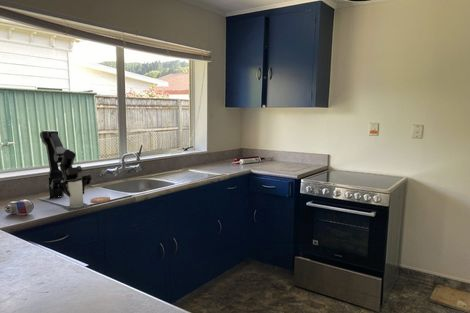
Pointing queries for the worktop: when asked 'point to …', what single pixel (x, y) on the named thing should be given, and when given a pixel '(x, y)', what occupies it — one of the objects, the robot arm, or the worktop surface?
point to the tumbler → (75, 194)
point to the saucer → (100, 199)
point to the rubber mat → (76, 208)
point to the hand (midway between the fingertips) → (76, 195)
